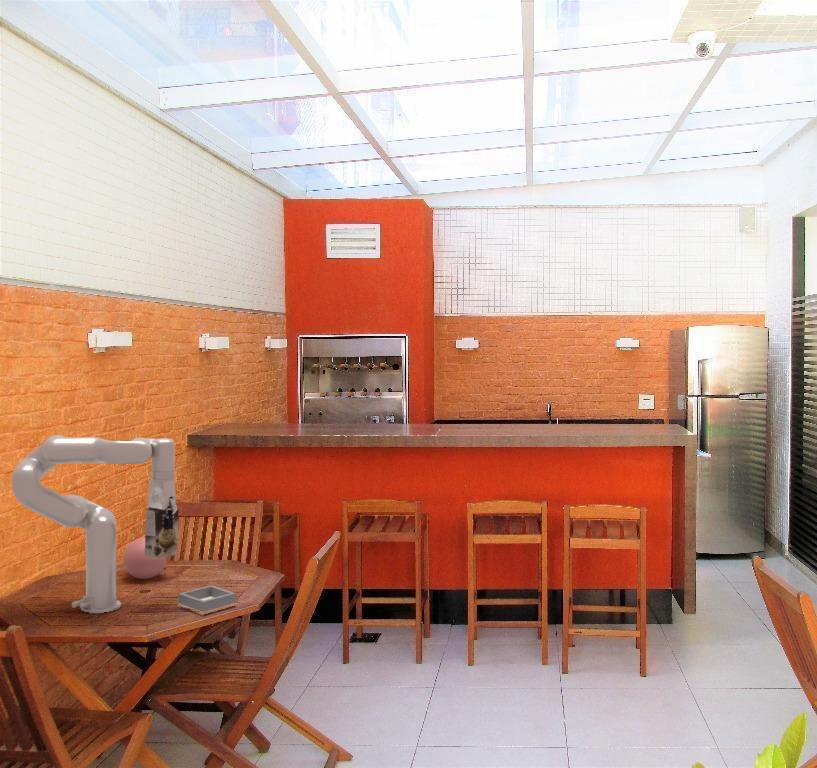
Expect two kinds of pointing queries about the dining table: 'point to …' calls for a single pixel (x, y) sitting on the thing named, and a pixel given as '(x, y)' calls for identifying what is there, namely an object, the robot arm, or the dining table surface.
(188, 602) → the holder
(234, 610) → the dining table surface
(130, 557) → the balloon
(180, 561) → the dining table surface
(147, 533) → the coffee box
